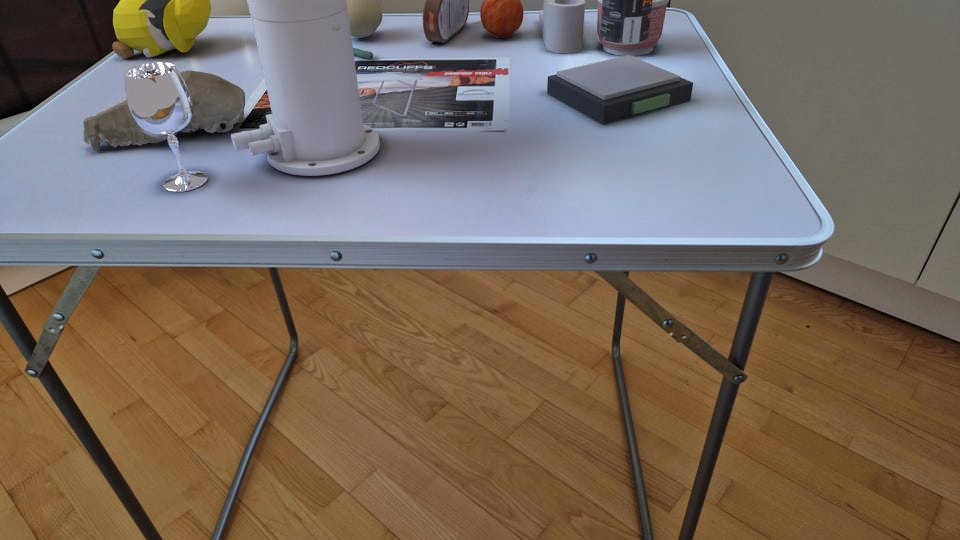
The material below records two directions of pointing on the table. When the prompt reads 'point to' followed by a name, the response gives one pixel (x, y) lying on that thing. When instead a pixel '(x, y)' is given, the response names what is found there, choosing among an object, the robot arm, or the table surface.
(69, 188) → the table surface
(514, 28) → the fruit
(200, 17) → the toy
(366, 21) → the potato
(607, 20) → the pill bottle
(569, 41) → the grey hollow cylinder
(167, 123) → the wineglass
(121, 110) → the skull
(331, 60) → the robot arm
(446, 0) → the tin
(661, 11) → the container
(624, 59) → the scale
